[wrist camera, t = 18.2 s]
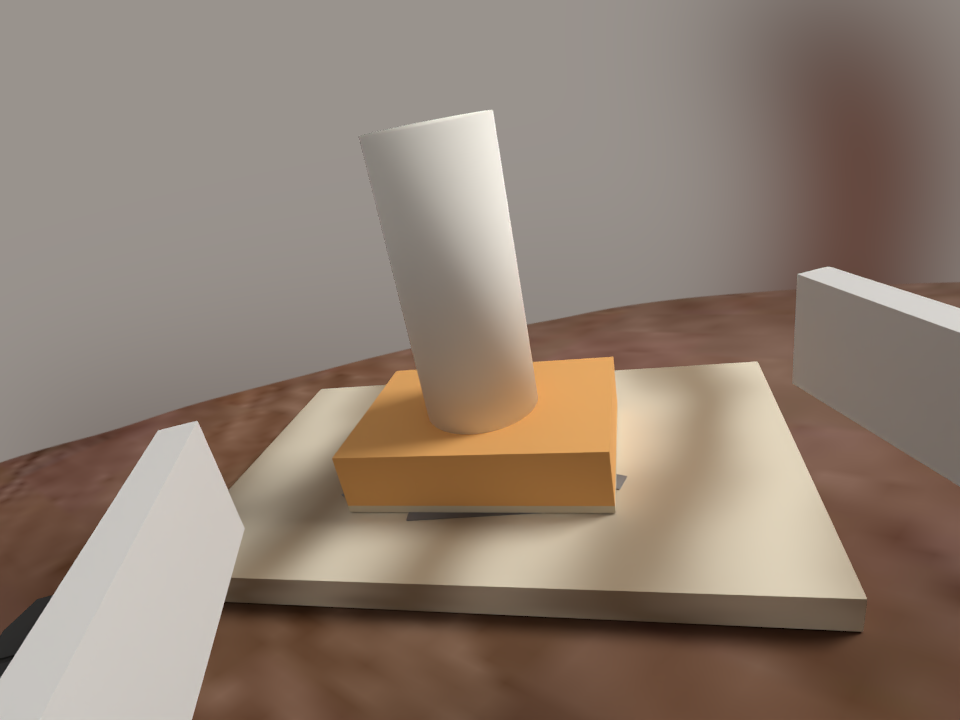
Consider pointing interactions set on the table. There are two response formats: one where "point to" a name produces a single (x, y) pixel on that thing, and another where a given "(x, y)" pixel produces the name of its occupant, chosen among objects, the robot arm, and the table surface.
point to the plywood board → (570, 523)
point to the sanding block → (470, 350)
